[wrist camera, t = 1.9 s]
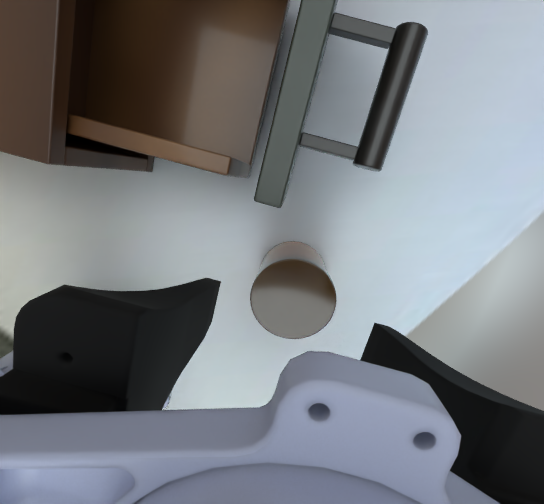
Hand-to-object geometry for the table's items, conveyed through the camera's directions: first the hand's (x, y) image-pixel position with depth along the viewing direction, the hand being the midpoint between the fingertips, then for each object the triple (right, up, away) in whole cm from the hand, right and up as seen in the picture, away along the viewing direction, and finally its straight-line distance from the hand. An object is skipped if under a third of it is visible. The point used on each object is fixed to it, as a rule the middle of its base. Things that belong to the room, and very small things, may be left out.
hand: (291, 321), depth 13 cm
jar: (+1, +2, +8) cm, 8 cm away
